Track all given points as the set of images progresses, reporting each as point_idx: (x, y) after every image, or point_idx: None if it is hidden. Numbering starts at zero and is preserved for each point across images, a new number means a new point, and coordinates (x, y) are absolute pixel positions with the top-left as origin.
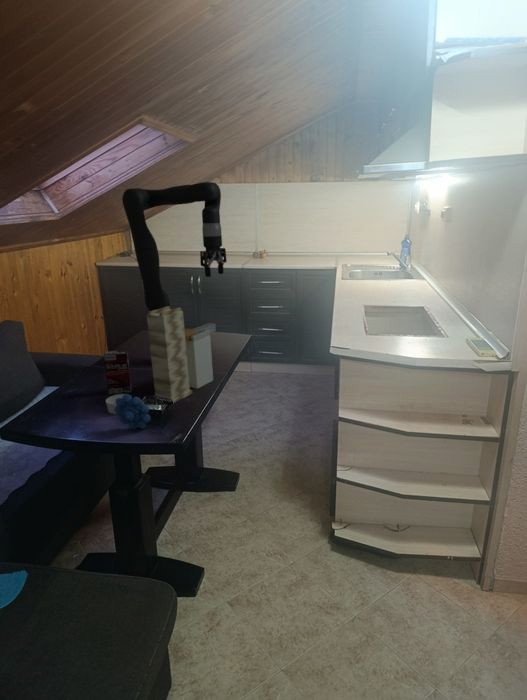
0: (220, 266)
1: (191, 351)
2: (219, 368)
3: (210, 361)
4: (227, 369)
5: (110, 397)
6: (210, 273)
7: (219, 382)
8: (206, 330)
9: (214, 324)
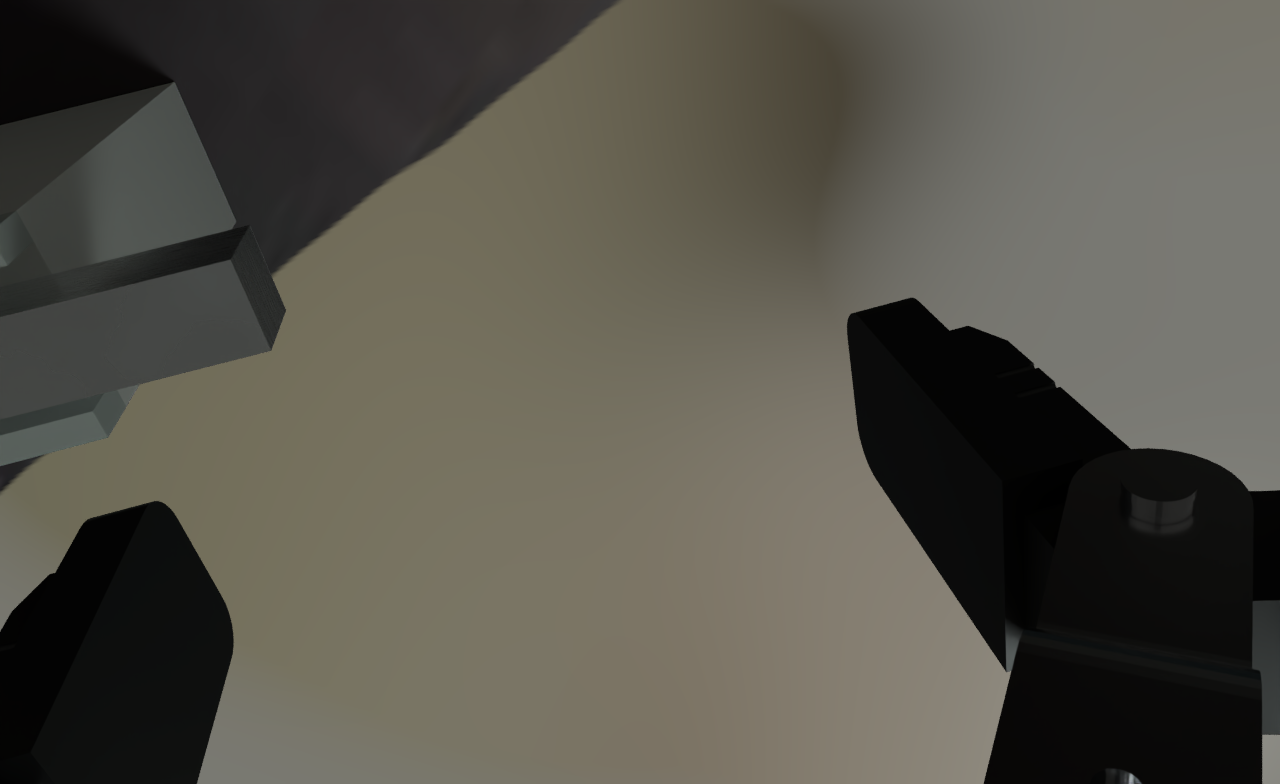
0: (973, 563)
1: None
2: (442, 31)
3: None
4: (477, 109)
5: None
6: (205, 713)
7: None
8: (65, 420)
9: (251, 353)
